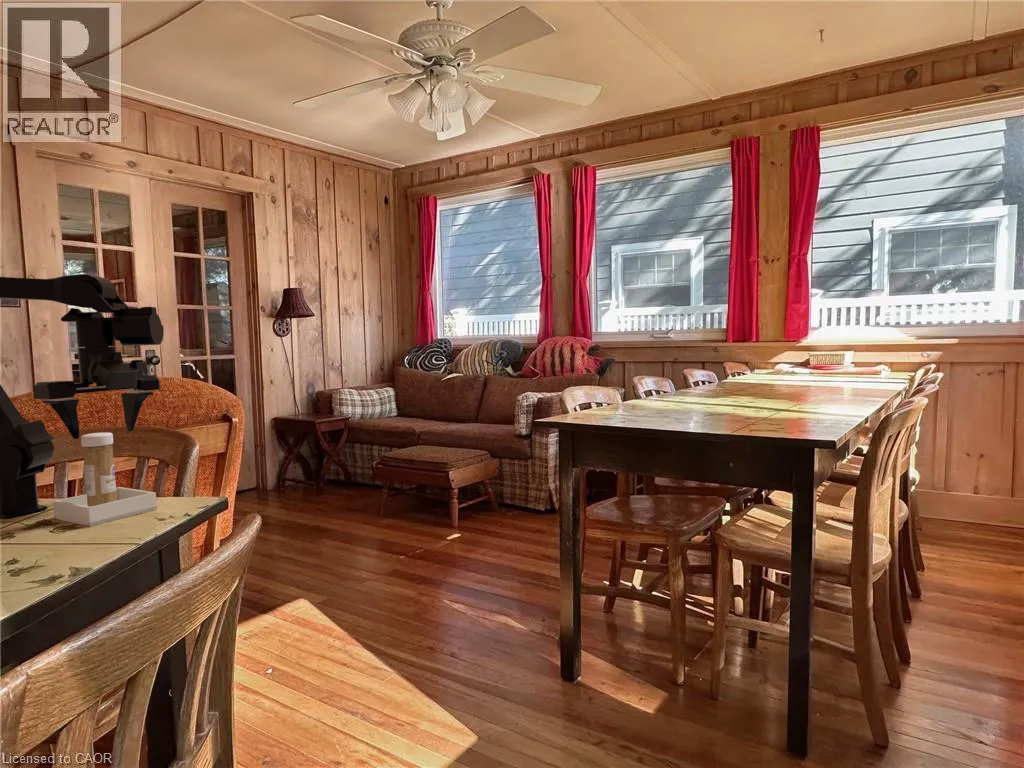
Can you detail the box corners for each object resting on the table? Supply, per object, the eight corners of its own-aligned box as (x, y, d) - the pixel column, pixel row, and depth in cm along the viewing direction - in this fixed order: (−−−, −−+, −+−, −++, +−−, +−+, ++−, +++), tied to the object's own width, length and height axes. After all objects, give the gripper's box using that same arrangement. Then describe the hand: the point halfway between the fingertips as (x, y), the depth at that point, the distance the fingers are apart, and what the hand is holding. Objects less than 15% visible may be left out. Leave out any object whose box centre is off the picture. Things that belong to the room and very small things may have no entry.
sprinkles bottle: (118, 512, 108) (113, 433, 107) (86, 516, 106) (80, 436, 105) (117, 506, 112) (112, 430, 111) (86, 511, 110) (80, 433, 109)
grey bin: (54, 518, 107) (53, 501, 107) (120, 503, 117) (119, 486, 117) (90, 526, 102) (88, 508, 102) (156, 509, 112) (155, 492, 111)
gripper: (63, 347, 100) (71, 445, 101) (175, 344, 116) (181, 429, 118) (27, 349, 106) (36, 442, 107) (139, 346, 122) (145, 426, 123)
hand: (104, 434), depth 113 cm, fingers open, 9 cm apart
